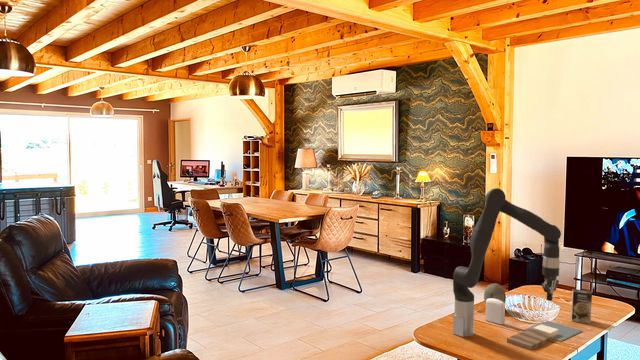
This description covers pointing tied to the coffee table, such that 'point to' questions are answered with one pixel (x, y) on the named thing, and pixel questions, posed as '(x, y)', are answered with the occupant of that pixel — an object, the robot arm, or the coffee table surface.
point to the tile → (546, 330)
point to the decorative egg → (494, 292)
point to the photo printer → (495, 311)
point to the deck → (529, 339)
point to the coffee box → (581, 306)
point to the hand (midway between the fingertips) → (549, 300)
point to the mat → (564, 330)
